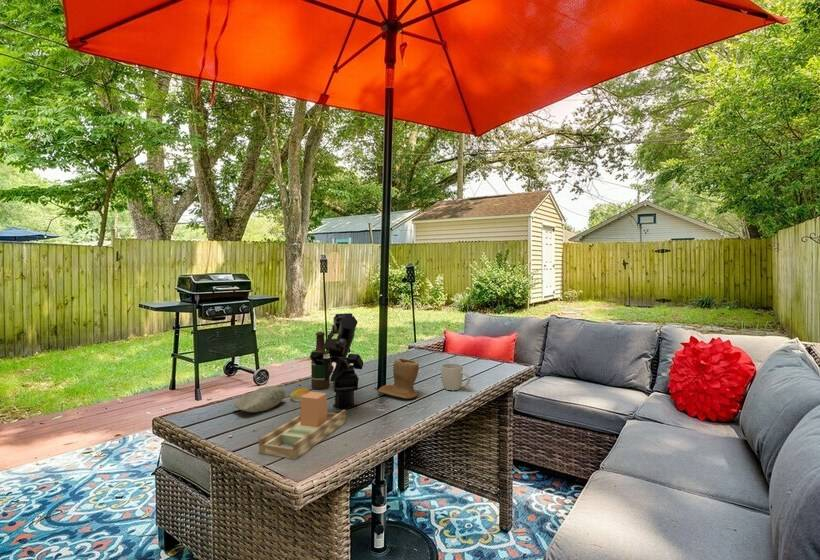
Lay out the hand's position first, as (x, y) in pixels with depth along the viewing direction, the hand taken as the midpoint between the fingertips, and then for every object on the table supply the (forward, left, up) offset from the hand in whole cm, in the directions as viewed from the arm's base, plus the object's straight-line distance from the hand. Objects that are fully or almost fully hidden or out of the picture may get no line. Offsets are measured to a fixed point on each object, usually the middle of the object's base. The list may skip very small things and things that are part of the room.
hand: (328, 381), depth 148 cm
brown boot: (-37, -2, -14) cm, 40 cm away
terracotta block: (+9, +4, -11) cm, 15 cm away
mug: (-59, +9, -14) cm, 62 cm away
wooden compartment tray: (+13, +6, -14) cm, 20 cm away
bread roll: (-7, -28, -14) cm, 32 cm away
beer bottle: (-21, -35, -14) cm, 43 cm away
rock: (+10, -28, -14) cm, 33 cm away
